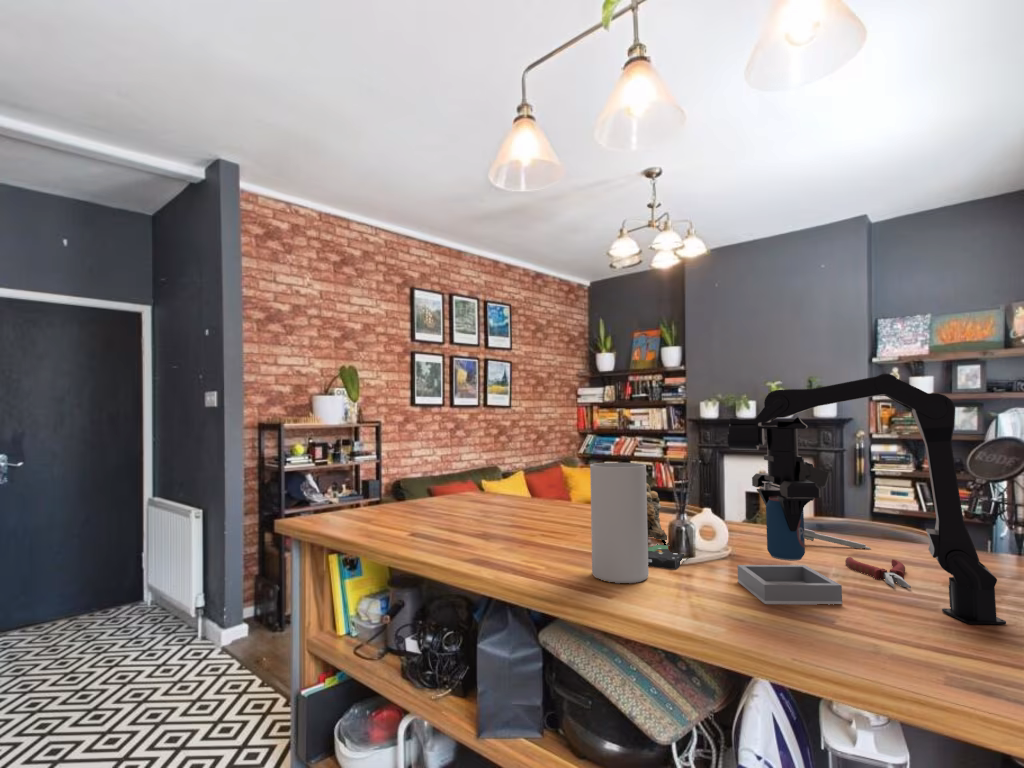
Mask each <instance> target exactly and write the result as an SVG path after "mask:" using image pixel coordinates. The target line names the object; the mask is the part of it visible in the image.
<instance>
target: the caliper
mask: <svg viewBox="0 0 1024 768" xmlns="http://www.w3.org/2000/svg"><path fill="white" fill-rule="evenodd" d="M804 538H805V539H806V541H808V540H809V541H812V542H814V541H815V540H818V541H819V540H820V541H824V542H828V543H833V544H837V545H841V546H846V547H849V548H854V549H857V548H865V550H870V549H871V550H872V548H871V547H869V546H866V545H867V544H865V543H861V542H857V541H852V540H849V539H844V538H840V537H839V538H838V537H835V536H831V535H826V534H823V533H822V534H821V533H818V532H817V533H816V531H814V530H811V529H808V528H804ZM814 539H815V540H814Z"/></svg>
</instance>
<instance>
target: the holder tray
mask: <svg viewBox="0 0 1024 768" xmlns="http://www.w3.org/2000/svg"><path fill="white" fill-rule="evenodd" d="M737 582H738V583H739V584H740V585H741V586H742V587H743V588H745V589H746V590H747V591H748V592H749V593H751V594H752V595H754V597H756V598H757V599H758V600H759V601H760V602H762V604H765V605H817V604H828V605H829V606H830V604H833V605H834V604H842V605H843V590H842V589H843V588H842V587H843V586H842V584H840V583H838V582H836V581H835V580H833V579H832V578H829V577H827V576H825V575H824V574H822V573H821V572H818V571H816V570H815V569H813V568H811V567H809V566H808V565H805V564H804V565H803V564H800V565H799V564H795V565H794V564H737ZM833 605H832V606H833Z"/></svg>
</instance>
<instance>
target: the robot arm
mask: <svg viewBox="0 0 1024 768" xmlns="http://www.w3.org/2000/svg"><path fill="white" fill-rule="evenodd" d="M875 396H876V397H877V396H885V397H886V398H889V399H890V400H892V401H893V402H895V403H897V404H899V405H901V406H902V407H904V408H906V409H908V410H910V411H911V413H912V415H913V418H914V421H915V423H916V426H917V428H918V430H919V434H920V436H921V438H922V440H923V443H924V445H925V453H926V459H927V465H928V472H929V479H930V486H931V491H932V498H933V503H934V504H933V505H934V506H933V507H934V511H935V512H934V513H935V517H936V519H935V526H934V529H932V528H926V529H925V531H926V533H927V537H928V539H929V545H928V546H929V547H928V551H929V553H930V555H931V557H932V558H933V559H936V561H937V562H938V564H939V566H940V567H941V568H942V569H943V571H945V572H947V573H948V574H950V575H951V576H950V577H948V582H949V583H948V596H949V599H948V600H949V607H950V608H945V607H944V608H943V607H942V608H941V611H942V612H943V613H944V614H947V615H949V616H951V617H953V618H955V619H957V620H960V621H961V622H963V623H966V624H969V625H1007V621H1006V620H1004V619H1002V618H999V617H997V606H996V605H997V601H996V590H995V589H996V588H995V587H996V585H997V582H998V579H997V577H996V576H995V575H994V574H993V573H992V572H991V571H990V570H989V568H988V567H987V566H986V565H984V564H983V563H982V562H980V558H979V555H978V553H977V550H976V548H975V544H974V542H973V539H972V538H971V535H970V533H969V530H968V528H967V526H966V524H965V523H966V522H965V521H964V515H963V509H962V508H963V507H962V503H961V501H962V500H961V496H960V490H959V489H960V488H959V483H958V478H957V470H956V464H955V458H954V457H955V456H954V452H953V451H954V450H953V444H952V442H953V436H954V428H955V416H956V414H955V413H956V407H955V404H954V402H953V400H952V399H951V398H949V397H948V396H946V395H944V394H942V393H937V392H936V393H935V392H931V393H928V392H926V391H924V390H922V389H920V388H917V387H916V386H913V385H912V384H909V383H907V382H905V381H903V380H902V379H901V380H900V379H899V378H897V377H896V376H895V375H893V374H890V373H881V374H879V375H876V376H871V377H865V378H862V379H861V378H860V379H856V380H850V381H846V382H840V383H836V384H830V385H826V386H824V385H823V386H820V387H815V388H791V389H790V388H789V389H788V388H787V389H776V390H773V391H771V392H769V393H768V394H767V395H766V397H765V399H764V402H763V403H764V407H763V408H762V410H761V411H760V412H759V414H757V416H756V418H738V417H731V418H729V426H728V432H727V444H728V448H729V450H739V451H741V450H742V451H743V450H745V451H748V450H749V451H759V450H760V446H764V445H765V429H766V444H767V446H766V447H767V449H766V450H767V451H766V452H767V453H766V454H763V460H764V461H767V473H758V472H757V473H755V474H754V475H753V476H752V477H751V483H752V484H751V486H752V487H755V488H756V491H757V492H758V494H759V496H760V498H761V499H762V502H763V504H764V505H765V506H766V504H767V502H768V500H769V497H770V496H778V499H779V502H780V504H781V507H782V510H783V513H784V516H785V519H786V521H787V524H788V527H789V529H790V531H796V530H797V527H798V524H799V520H800V517H801V514H802V511H803V512H804V508H805V507H806V505H807V504H808V503H810V502H811V501H813V502H814V500H815V499H819V498H821V497H822V495H821V493H822V491H821V488H826V486H827V484H828V480H829V476H830V475H831V473H830V472H828V471H825V470H823V469H820V468H817V467H814V463H810V462H808V461H805V459H804V457H803V456H801V455H799V448H798V447H799V444H798V441H799V440H798V430H800V429H801V430H805V429H807V428H808V427H809V426H808V425H807V424H806V423H805V422H803V420H801V418H800V417H798V416H797V417H795V419H793V420H778V421H777V425H762V423H771V422H773V421H775V420H776V419H778V418H779V419H780V418H782V419H784V418H788V417H792V416H794V415H796V414H800V413H803V412H805V411H808V410H811V409H814V408H816V407H817V408H818V407H821V406H827V405H832V404H837V403H839V404H840V403H843V402H848V401H854V400H855V401H856V400H860V399H865V398H871V397H875Z"/></svg>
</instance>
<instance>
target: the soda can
mask: <svg viewBox="0 0 1024 768" xmlns="http://www.w3.org/2000/svg"><path fill="white" fill-rule="evenodd" d="M804 514H805V513H804V510H803V511H802V514H801V517H800V520H799V524H798V527H797V530H796V531H790V529H789V527H788V524H787V521H786V519H785V516H784V513H783V510H782V507H781V504H780V502H779V499H778V496H770V497H769V500H768V502H767V504H766V505H765V525H766V546H767V547H766V550H767V552H768V554H769V555H770V557H771V558H773V559H775V560H780V561H792V562H793V561H794V562H795V561H800V560H802V558H803V557H804V555H805V554H806V543H805V541H806V540H805V538H804V529H805V516H804Z"/></svg>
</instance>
